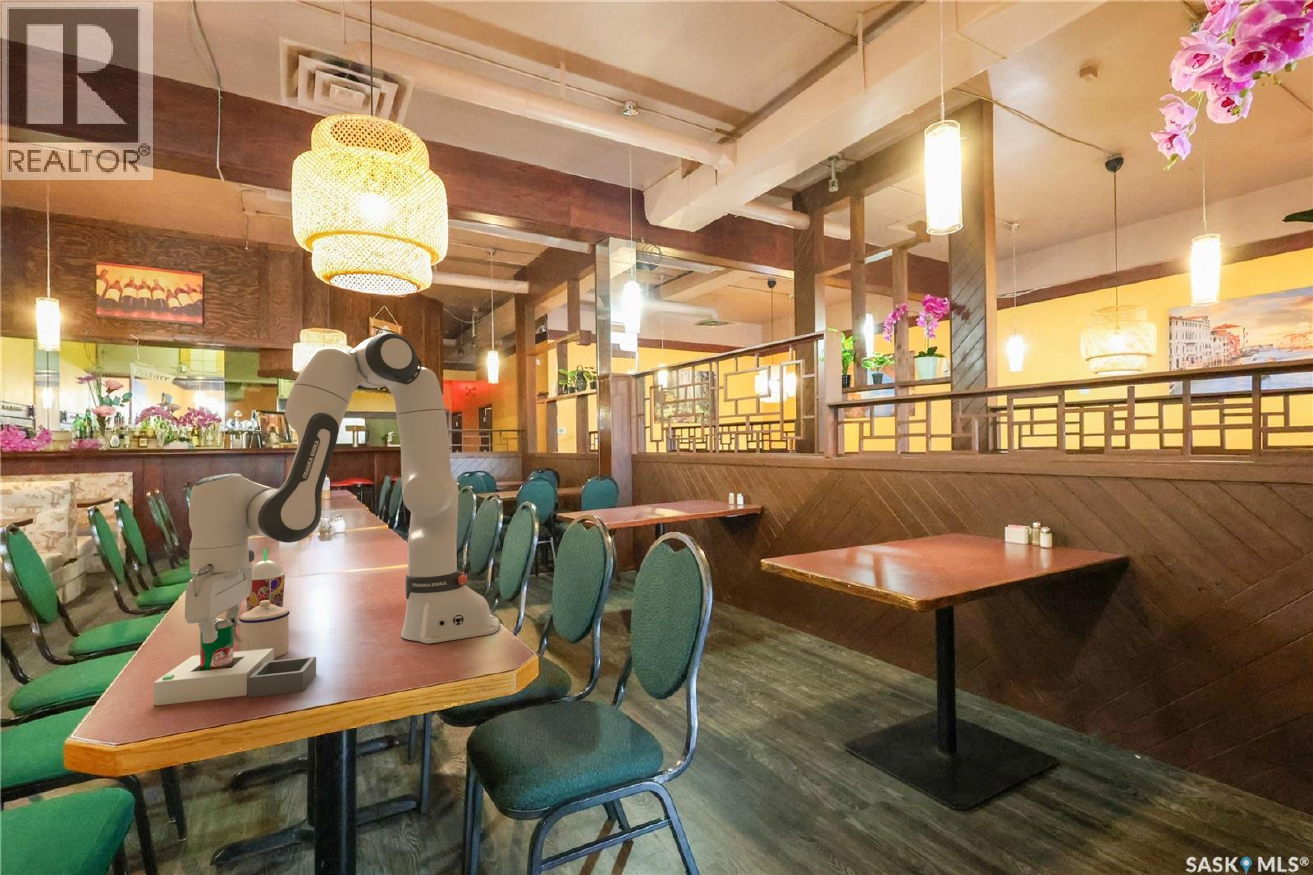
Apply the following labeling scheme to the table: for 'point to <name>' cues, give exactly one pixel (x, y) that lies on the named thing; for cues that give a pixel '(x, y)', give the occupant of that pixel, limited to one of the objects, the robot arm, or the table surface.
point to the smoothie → (266, 583)
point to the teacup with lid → (264, 629)
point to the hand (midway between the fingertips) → (221, 634)
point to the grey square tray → (282, 676)
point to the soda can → (218, 647)
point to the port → (209, 679)
